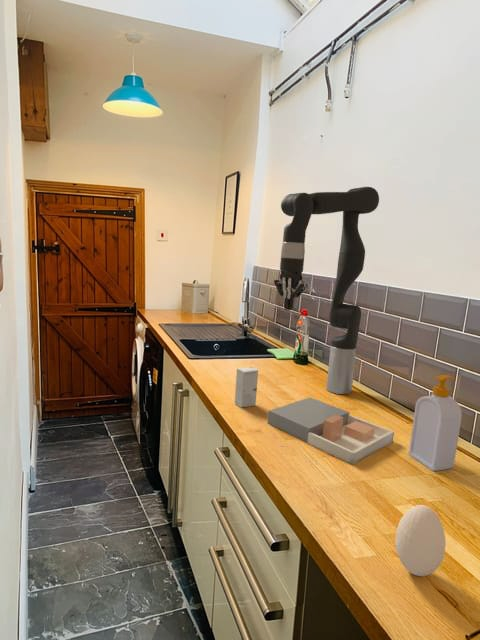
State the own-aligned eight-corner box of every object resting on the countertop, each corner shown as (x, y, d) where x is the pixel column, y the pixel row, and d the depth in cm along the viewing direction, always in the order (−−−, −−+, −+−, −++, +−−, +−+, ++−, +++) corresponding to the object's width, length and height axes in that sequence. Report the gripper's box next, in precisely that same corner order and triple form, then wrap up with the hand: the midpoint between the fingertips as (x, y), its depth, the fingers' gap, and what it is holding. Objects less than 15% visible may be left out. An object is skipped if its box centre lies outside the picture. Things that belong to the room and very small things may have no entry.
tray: (349, 424, 126) (350, 415, 126) (392, 441, 116) (394, 431, 116) (307, 443, 112) (308, 432, 111) (352, 464, 102) (353, 453, 101)
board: (308, 408, 137) (309, 397, 136) (348, 424, 126) (349, 412, 125) (267, 423, 123) (268, 410, 122) (307, 442, 112) (309, 428, 112)
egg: (431, 597, 63) (442, 529, 61) (384, 570, 68) (393, 506, 66) (445, 572, 69) (456, 508, 67) (401, 548, 73) (410, 488, 71)
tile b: (335, 414, 116) (343, 417, 115) (333, 434, 117) (341, 437, 116) (324, 420, 112) (332, 423, 110) (322, 440, 113) (329, 443, 111)
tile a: (374, 428, 117) (373, 436, 118) (355, 421, 121) (355, 429, 122) (364, 433, 113) (363, 442, 114) (345, 426, 117) (344, 434, 118)
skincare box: (241, 408, 134) (243, 372, 132) (233, 403, 137) (236, 368, 135) (256, 405, 137) (259, 370, 135) (248, 400, 141) (251, 366, 139)
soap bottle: (455, 468, 103) (470, 381, 99) (434, 472, 101) (448, 382, 97) (428, 451, 112) (441, 370, 108) (408, 454, 109) (420, 371, 105)
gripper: (316, 258, 131) (311, 312, 134) (284, 256, 141) (280, 306, 144) (301, 257, 126) (296, 313, 129) (269, 255, 136) (265, 307, 139)
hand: (288, 309), depth 136 cm, fingers closed
